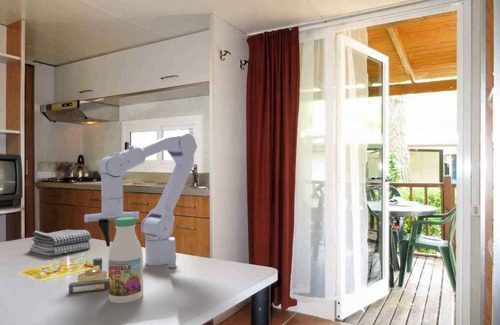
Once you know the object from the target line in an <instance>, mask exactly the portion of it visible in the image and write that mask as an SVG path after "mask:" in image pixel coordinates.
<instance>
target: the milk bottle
mask: <svg viewBox="0 0 500 325" xmlns="http://www.w3.org/2000/svg"><path fill="white" fill-rule="evenodd" d="M115 218H116V219H115V220H114V225H115V227H114V228H115V230H116V231H115V235H114V238H113V241H112V243H111V244H110V245H111V246H109V247H110V248H109V250H108V251H109V252H108V264H107V265H108V267H107V268H108V279H109V289H108V300H109V302H111V303H114V304H115V303H116V304H125V303H130V302H134V301H137V300H139V299H141V298H143V296H144V260H143V258H144V257H143V247H142V246H141V243H140V241H139V239H138V236H137V234H136V230H135V227H136V224H137V223H136V221H137V219H135V218H134V217H115Z"/></svg>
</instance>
